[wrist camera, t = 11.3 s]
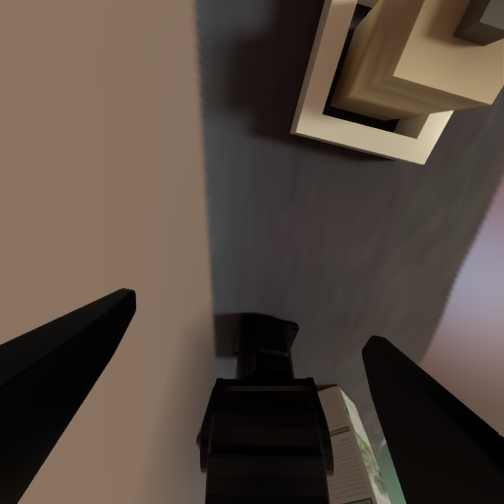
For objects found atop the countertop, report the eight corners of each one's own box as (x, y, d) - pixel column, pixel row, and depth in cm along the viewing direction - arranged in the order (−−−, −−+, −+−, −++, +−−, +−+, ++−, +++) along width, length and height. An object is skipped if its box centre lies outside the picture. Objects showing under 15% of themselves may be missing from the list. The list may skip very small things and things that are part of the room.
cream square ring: (397, 160, 16) (423, 164, 14) (289, 133, 16) (295, 132, 13) (472, 7, 13) (530, -29, 10) (334, -37, 12) (356, -88, 9)
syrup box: (300, 397, 31) (330, 582, 18) (339, 382, 29) (402, 577, 16) (320, 415, 33) (359, 593, 20) (357, 403, 31) (426, 590, 18)
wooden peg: (383, 120, 15) (519, 100, 7) (329, 105, 15) (409, 67, 7) (415, 47, 13) (643, -87, 5) (355, 28, 13) (503, -144, 5)
